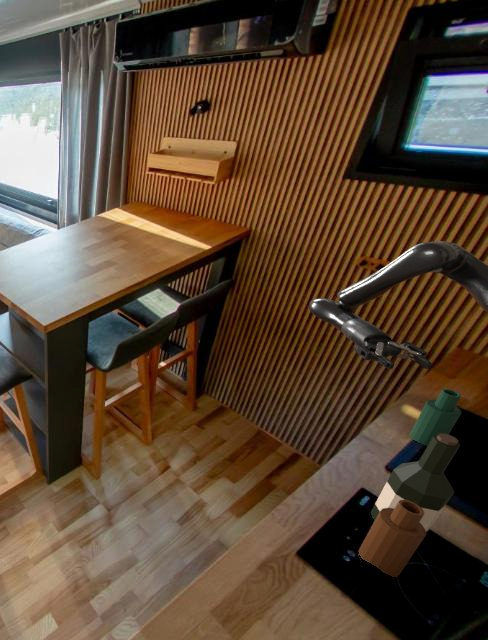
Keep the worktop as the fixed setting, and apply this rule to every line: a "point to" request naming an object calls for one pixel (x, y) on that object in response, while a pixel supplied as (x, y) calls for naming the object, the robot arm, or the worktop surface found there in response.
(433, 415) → the green bottle
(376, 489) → the worktop surface
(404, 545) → the brown bottle
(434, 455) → the wine bottle
